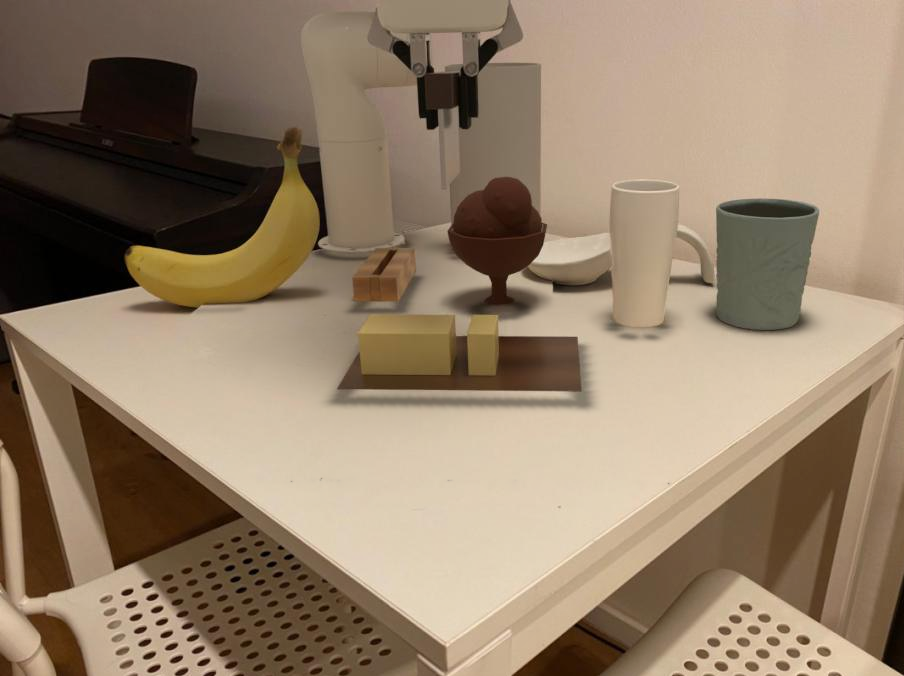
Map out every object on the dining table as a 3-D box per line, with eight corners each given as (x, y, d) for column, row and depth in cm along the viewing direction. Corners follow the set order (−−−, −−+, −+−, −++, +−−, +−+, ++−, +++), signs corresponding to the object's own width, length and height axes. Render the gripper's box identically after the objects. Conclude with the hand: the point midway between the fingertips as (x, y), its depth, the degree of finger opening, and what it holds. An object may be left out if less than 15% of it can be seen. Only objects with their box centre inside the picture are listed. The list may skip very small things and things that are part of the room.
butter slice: (473, 354, 76) (472, 314, 74) (499, 354, 75) (498, 314, 74) (468, 375, 71) (466, 333, 69) (495, 376, 71) (494, 333, 69)
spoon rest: (519, 292, 97) (518, 234, 94) (525, 266, 108) (524, 212, 105) (719, 294, 95) (724, 234, 92) (704, 267, 105) (709, 212, 103)
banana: (125, 315, 92) (86, 134, 84) (144, 299, 97) (110, 127, 89) (323, 310, 92) (303, 129, 84) (331, 295, 97) (314, 123, 89)
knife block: (378, 278, 104) (375, 247, 102) (416, 278, 103) (414, 247, 102) (355, 310, 92) (352, 277, 90) (398, 311, 91) (396, 277, 90)
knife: (447, 172, 72) (443, 71, 69) (469, 171, 72) (466, 71, 69) (430, 190, 62) (424, 73, 59) (455, 190, 62) (451, 73, 59)
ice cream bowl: (548, 295, 96) (549, 167, 90) (543, 327, 85) (544, 185, 79) (460, 294, 97) (455, 167, 91) (445, 325, 86) (438, 185, 80)
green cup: (810, 335, 82) (828, 218, 77) (709, 330, 84) (720, 216, 79) (795, 304, 91) (810, 197, 86) (704, 300, 93) (713, 196, 88)
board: (369, 346, 81) (368, 335, 81) (577, 347, 80) (577, 336, 80) (338, 401, 69) (336, 388, 69) (581, 403, 68) (581, 390, 68)
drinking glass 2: (670, 342, 81) (680, 192, 75) (602, 338, 82) (608, 191, 76) (670, 319, 87) (680, 179, 81) (608, 316, 88) (613, 178, 82)
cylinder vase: (502, 237, 122) (499, 61, 112) (558, 253, 113) (561, 63, 103) (435, 252, 115) (425, 65, 105) (489, 270, 106) (485, 68, 96)
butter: (373, 353, 76) (369, 314, 75) (456, 354, 76) (455, 314, 74) (361, 374, 72) (357, 332, 70) (450, 375, 71) (448, 333, 69)
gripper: (547, -129, 62) (546, 121, 69) (343, -122, 63) (363, 124, 70) (547, -149, 55) (546, 132, 62) (317, -141, 56) (343, 134, 63)
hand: (449, 126), depth 66 cm, fingers closed on knife, 2 cm apart
